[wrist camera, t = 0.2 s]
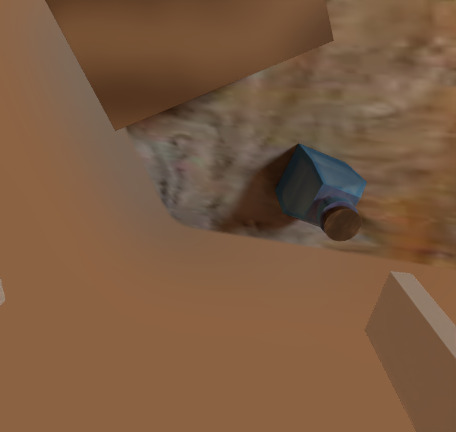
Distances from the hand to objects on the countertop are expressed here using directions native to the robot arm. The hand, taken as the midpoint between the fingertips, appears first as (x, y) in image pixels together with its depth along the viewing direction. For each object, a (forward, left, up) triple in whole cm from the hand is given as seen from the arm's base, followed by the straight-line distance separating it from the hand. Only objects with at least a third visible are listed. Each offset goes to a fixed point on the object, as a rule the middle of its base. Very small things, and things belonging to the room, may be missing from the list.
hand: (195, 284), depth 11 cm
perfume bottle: (+5, +12, -28) cm, 31 cm away
